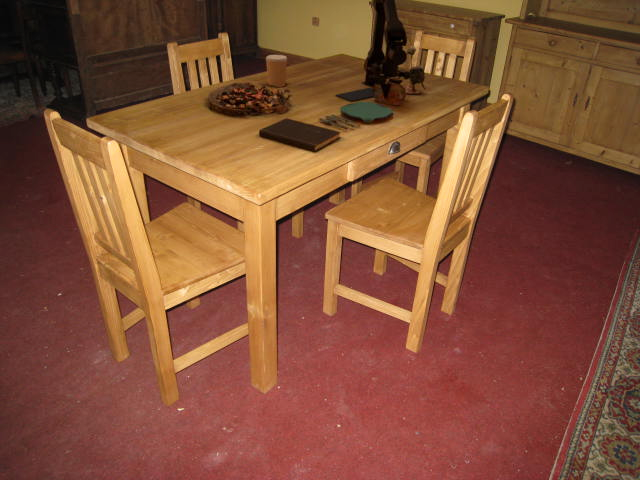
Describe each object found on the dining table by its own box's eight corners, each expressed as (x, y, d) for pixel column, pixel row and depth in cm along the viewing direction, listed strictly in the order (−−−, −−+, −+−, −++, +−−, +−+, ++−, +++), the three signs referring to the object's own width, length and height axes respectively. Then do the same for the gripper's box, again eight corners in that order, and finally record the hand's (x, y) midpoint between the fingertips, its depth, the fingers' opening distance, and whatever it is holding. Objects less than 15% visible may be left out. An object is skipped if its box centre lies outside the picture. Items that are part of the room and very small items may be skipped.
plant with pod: (418, 97, 223) (425, 49, 213) (396, 91, 229) (401, 44, 218) (427, 93, 229) (434, 46, 218) (405, 88, 234) (411, 42, 224)
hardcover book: (286, 124, 188) (286, 118, 187) (340, 138, 178) (340, 132, 177) (258, 136, 177) (258, 130, 176) (314, 152, 167) (314, 145, 165)
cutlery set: (402, 116, 200) (403, 111, 199) (349, 133, 182) (349, 127, 181) (364, 104, 212) (365, 98, 211) (311, 119, 194) (311, 113, 193)
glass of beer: (291, 84, 234) (291, 56, 227) (279, 88, 227) (278, 60, 221) (274, 80, 238) (274, 53, 231) (262, 84, 231) (261, 57, 225)
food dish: (308, 108, 208) (309, 89, 204) (245, 128, 188) (244, 107, 183) (251, 86, 227) (251, 68, 223) (188, 102, 207) (187, 83, 202)
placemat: (369, 88, 232) (369, 87, 231) (385, 94, 225) (385, 93, 225) (335, 95, 221) (335, 94, 220) (351, 101, 214) (351, 100, 214)
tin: (371, 99, 218) (372, 79, 213) (375, 97, 220) (376, 78, 215) (402, 107, 210) (404, 87, 205) (406, 105, 212) (408, 85, 207)
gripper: (393, 52, 216) (389, 89, 224) (361, 57, 206) (358, 96, 214) (413, 57, 209) (408, 96, 217) (381, 63, 199) (377, 103, 207)
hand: (387, 97), depth 214 cm, fingers closed on tin, 3 cm apart
